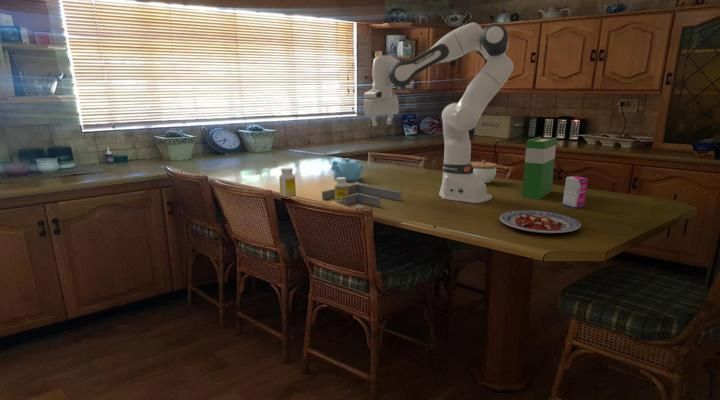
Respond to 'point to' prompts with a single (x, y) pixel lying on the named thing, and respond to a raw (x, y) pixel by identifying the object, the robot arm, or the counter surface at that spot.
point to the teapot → (347, 169)
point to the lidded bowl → (485, 170)
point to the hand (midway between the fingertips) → (381, 125)
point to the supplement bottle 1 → (287, 182)
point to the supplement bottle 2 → (341, 189)
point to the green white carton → (539, 167)
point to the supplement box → (575, 191)
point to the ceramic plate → (540, 221)
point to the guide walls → (362, 197)
